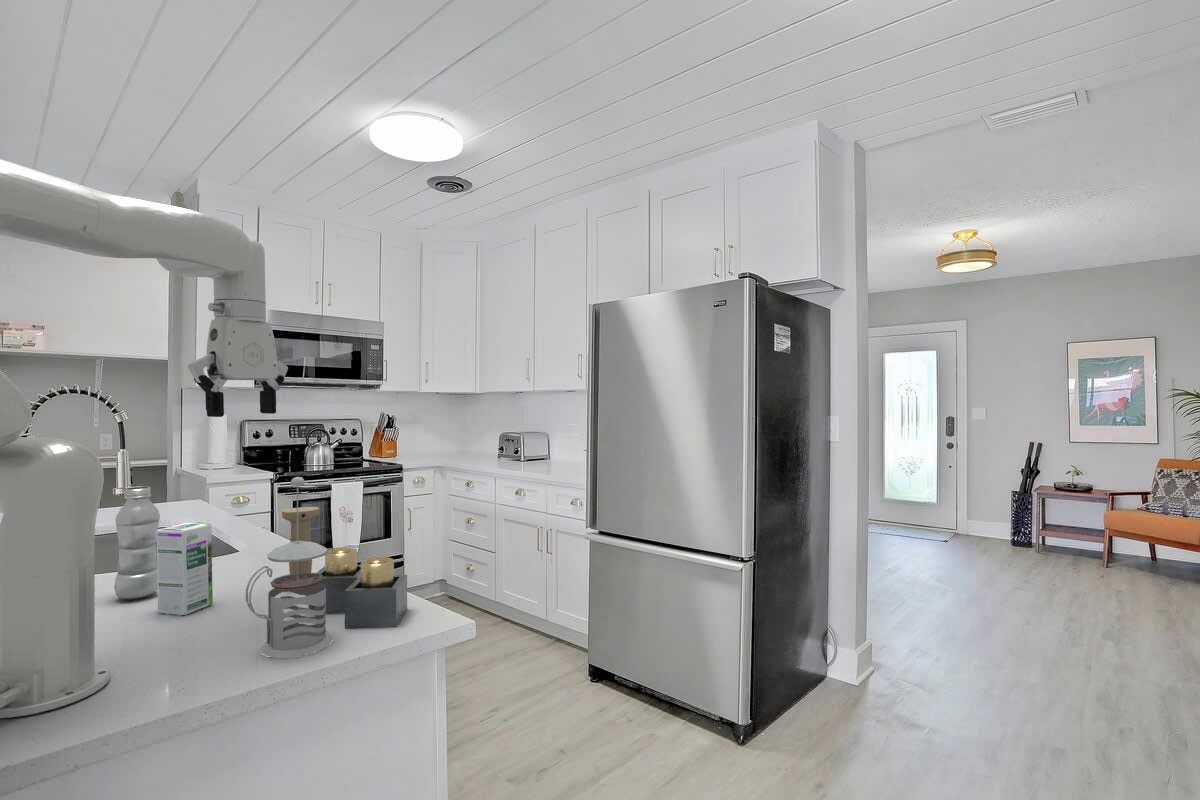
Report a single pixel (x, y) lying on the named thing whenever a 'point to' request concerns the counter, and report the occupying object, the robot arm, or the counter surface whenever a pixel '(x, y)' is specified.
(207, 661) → the counter surface
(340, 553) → the cream candle
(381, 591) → the socket near
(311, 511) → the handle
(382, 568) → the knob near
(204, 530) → the syrup box
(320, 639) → the french press
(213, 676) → the counter surface
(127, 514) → the plastic bottle
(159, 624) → the counter surface
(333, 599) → the socket far
